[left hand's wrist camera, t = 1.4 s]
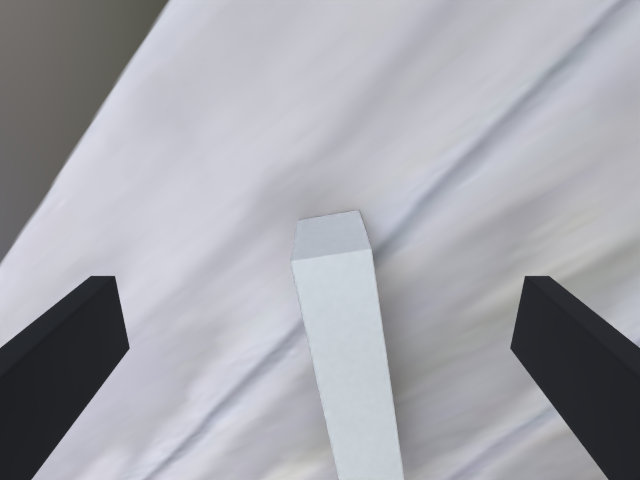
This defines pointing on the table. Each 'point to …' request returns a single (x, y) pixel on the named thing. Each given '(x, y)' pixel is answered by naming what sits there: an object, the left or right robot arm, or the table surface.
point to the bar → (347, 344)
